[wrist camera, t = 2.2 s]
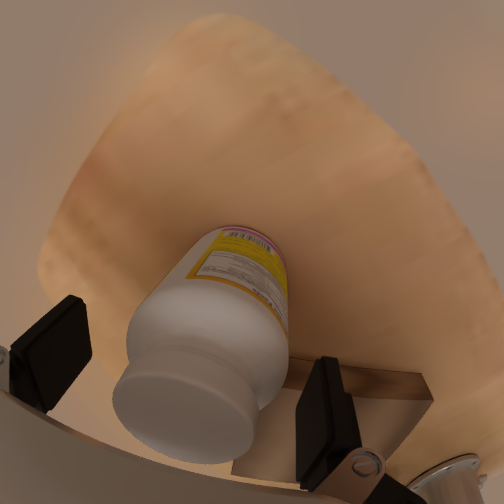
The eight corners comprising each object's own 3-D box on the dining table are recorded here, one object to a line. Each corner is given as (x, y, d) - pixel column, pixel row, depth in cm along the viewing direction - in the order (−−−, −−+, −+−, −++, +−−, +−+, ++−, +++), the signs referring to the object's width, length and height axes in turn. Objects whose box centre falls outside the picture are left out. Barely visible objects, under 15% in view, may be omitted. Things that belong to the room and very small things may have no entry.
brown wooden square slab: (421, 373, 21) (434, 400, 18) (359, 460, 26) (362, 484, 23) (263, 352, 22) (259, 383, 19) (235, 448, 26) (230, 474, 23)
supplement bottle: (212, 325, 22) (152, 476, 9) (173, 243, 20) (50, 358, 8) (301, 300, 20) (310, 468, 8) (267, 208, 18) (233, 318, 6)
